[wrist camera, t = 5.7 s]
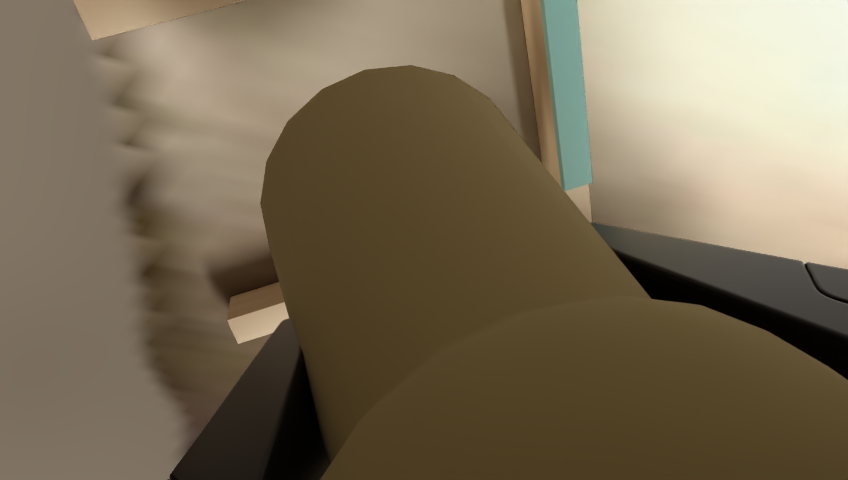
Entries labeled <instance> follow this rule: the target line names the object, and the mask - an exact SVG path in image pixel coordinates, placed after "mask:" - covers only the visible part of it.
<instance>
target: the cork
mask: <svg viewBox="0 0 848 480" xmlns="http://www.w3.org/2000/svg"><path fill="white" fill-rule="evenodd" d="M260 204H261V209H262V214H263V219H264V223H265V228H266V233H267V238H268V243H269V247H270V250H271V254H272V258H273V261H274V265H275V269H276V272H277V276H278V280H279V283H280V287H281V291H282V294H283V298H284V302H285V305H286V309H287V313H288V316H289V318H291V319H292V322H293V325H294V328H295V332H296V335H297V338H298V341H299V344H300V346H301V348H302V351H303V354H304V360H305V366H306V371H307V375H308V380H309V384H310V389H311V393H312V398H313V403H314V407H315V412H316V416H317V421H318V425H319V430H320V433H321V437H322V441H323V444H324V448H325V452H326V455H327V459H328V463H329V467H328V469H327V470H326V472H325V473H324V475H323V476H322V478H321V479H320V480H848V380H847V379H846V378H844V377H843V376H841V375H840V374H838V373H837V372H836V371H834V370H833V369H831V368H830V367H828V366H826V365H825V364H823V363H821V362H820V361H818V360H816V359H814V358H813V357H811V356H809V355H808V354H806V353H804V352H802V351H801V350H799V349H797V348H796V347H794V346H792V345H791V344H789V343H787V342H785V341H784V340H782V339H780V338H779V337H777V336H775V335H773V334H772V333H770V332H768V331H766V330H763V329H761V328H758V327H756V326H753V325H751V324H748V323H746V322H743V321H740V320H738V319H735V318H733V317H730V316H728V315H725V314H723V313H720V312H717V311H715V310H712V309H710V308H707V307H705V306H702V305H696V304H688V303H680V302H672V301H664V300H656V299H651V298H650V296H649V295H648V294H647V293H646V291H645V290H644V289H643V288H642V286H641V285H640V284H639V283H638V282H637V280H636V279H635V278H634V277H633V275H632V274H631V273H630V272H629V270H628V269H627V268H626V267H625V265H624V264H623V263H622V262H621V261H620V259H619V258H618V257H617V256H616V254H615V253H614V252H613V251H612V249H611V248H610V247H609V246H608V244H607V243H606V242H605V241H604V239H603V238H602V237H601V236H600V235H599V233H598V232H597V231H596V230H595V228H594V227H593V226H592V225H591V223H590V222H589V221H588V220H587V218H586V217H585V216H584V215H583V213H582V212H581V211H580V210H579V209H578V207H577V206H576V205H575V204H574V202H573V201H572V200H571V199H570V197H569V196H568V195H567V194H566V192H565V191H564V190H563V189H562V188H561V186H560V185H559V184H558V183H557V181H556V180H555V179H554V178H553V176H552V175H551V174H550V173H549V171H548V170H547V169H546V168H545V166H544V165H543V164H542V163H541V162H540V160H539V159H538V158H537V157H536V155H535V154H534V153H533V152H532V150H531V149H530V148H529V147H528V145H527V144H526V143H525V142H524V141H523V139H522V138H521V137H520V136H519V134H518V133H517V132H516V131H515V129H514V128H513V127H512V126H511V124H510V123H509V122H508V121H507V119H506V118H505V117H504V116H503V115H502V113H501V112H500V111H499V110H498V108H497V107H496V106H495V105H494V103H493V102H492V101H491V100H490V98H488V97H487V96H485V95H484V94H482V93H480V92H479V91H477V90H476V89H474V88H473V87H471V86H470V85H468V84H467V83H465V82H463V81H462V80H460V79H459V78H457V77H456V76H454V75H450V74H446V73H442V72H437V71H433V70H429V69H425V68H421V67H416V66H412V65H408V66H398V67H388V68H378V69H368V70H363V71H361V72H359V73H357V74H355V75H352V76H350V77H348V78H346V79H344V80H341V81H339V82H337V83H335V84H333V85H330V86H328V87H326V88H324V89H322V90H321V91H320V92H319V93H317V94H316V95H315V96H314V97H313V98H312V99H311V100H310V101H309V102H308V103H307V104H306V105H305V106H304V107H302V108H301V109H300V110H299V111H298V112H297V113H296V114H295V115H294V116H293V117H292V118H291V119H290V120H289V121H288V122H287V124H286V126H285V127H284V129H283V131H282V133H281V135H280V137H279V139H278V141H277V142H276V144H275V146H274V148H273V150H272V152H271V154H270V156H269V158H268V159H267V162H266V169H265V176H264V182H263V189H262V196H261V203H260Z"/></svg>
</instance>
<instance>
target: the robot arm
mask: <svg viewBox="0 0 848 480" xmlns="http://www.w3.org/2000/svg"><path fill="white" fill-rule="evenodd" d="M591 225H592V226H593V227H594V228H595V230H596V231H597V232H598V233H599V235H600V236H601V237H602V238H603V239H604V241H605V242H606V243H607V244H608V246H609V247H610V248H611V249H612V251H613V252H614V253H615V254H616V256H617V257H618V258H619V259H620V261H621V262H622V263H623V264H624V265H625V267H626V268H627V269H628V270H629V272H630V273H631V274H632V275H633V277H634V278H635V279H636V280H637V282H638V283H639V284H640V285H641V286H642V288H643V289H644V290H645V291H646V293H647V294H648V295H649V296H650V298H651V299H656V300H664V301H672V302H680V303H688V304H696V305H702V306H705V307H707V308H710V309H712V310H715V311H717V312H720V313H723V314H725V315H728V316H730V317H733V318H735V319H738V320H740V321H743V322H746V323H748V324H751V325H753V326H756V327H758V328H761V329H763V330H766V331H768V332H770V333H772V334H773V335H775V336H777V337H779V338H780V339H782V340H784V341H785V342H787V343H789V344H791V345H792V346H794V347H796V348H797V349H799V350H801V351H802V352H804V353H806V354H808V355H809V356H811V357H813V358H814V359H816V360H818V361H820V362H821V363H823V364H825V365H826V366H828V367H830V368H831V369H833V370H834V371H836V372H837V373H838V374H840V375H841V376H843V377H844V378H846V379H847V380H848V269H842V268H837V267H831V266H826V265H821V264H815V263H810V262H807V263H805V265H804V263H803V262H802V261H799V260H793V259H788V258H782V257H777V256H772V255H766V254H761V253H756V252H750V251H745V250H739V249H734V248H729V247H723V246H718V245H713V244H707V243H702V242H697V241H691V240H686V239H681V238H675V237H670V236H665V235H659V234H654V233H648V232H643V231H638V230H632V229H627V228H622V227H616V226H611V225H606V224H600V223H595V222H591ZM328 467H329V463H328V459H327V455H326V452H325V448H324V444H323V441H322V437H321V433H320V430H319V425H318V421H317V416H316V412H315V407H314V403H313V398H312V393H311V389H310V384H309V380H308V375H307V371H306V366H305V360H304V354H303V351H302V348H301V346H300V344H299V341H298V338H297V335H296V332H295V328H294V325H293V322H292V319H291V318H288V319H285V320H283V321H282V322H281V323H280V324H279V325H278V327H277V328H276V329H275V331H274V332H273V334H272V335H271V336H270V338H269V339H268V340H267V342H266V343H265V345H264V346H263V347H262V349H261V350H260V351H259V353H258V354H257V356H256V357H255V358H254V360H253V361H252V362H251V364H250V365H249V367H248V368H247V369H246V371H245V372H244V373H243V375H242V376H241V378H240V379H239V380H238V382H237V383H236V385H235V386H234V387H233V389H232V390H231V391H230V393H229V394H228V396H227V397H226V398H225V400H224V401H223V402H222V404H221V405H220V407H219V408H218V409H217V411H216V412H215V413H214V415H213V416H212V418H211V419H210V420H209V422H208V423H207V424H206V426H205V427H204V429H203V430H202V431H201V433H200V434H199V436H198V437H197V438H196V440H195V441H194V442H193V444H192V445H191V447H190V448H189V449H188V451H187V452H186V453H185V455H184V456H183V458H182V459H181V460H180V462H179V463H178V464H177V466H176V467H175V469H174V470H173V471H172V473H171V474H170V479H168V480H320V479H321V478H322V476H323V475H324V473H325V472H326V470H327V469H328Z"/></svg>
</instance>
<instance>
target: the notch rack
mask: <svg viewBox="0 0 848 480" xmlns="http://www.w3.org/2000/svg"><path fill="white" fill-rule="evenodd" d="M73 1H74V3H75V5H76V7H77V9H78V11H79V14H80V16H81V18H82V20H83V22H84V24H85V26H86V28H87V30H88V32H89V34H90V36H91V39H92V40H95V39H99V38H103V37H107V36H111V35H115V34H119V33H122V32H126V31H130V30H134V29H138V28H142V27H146V26H150V25H153V24H157V23H161V22H165V21H169V20H173V19H177V18H181V17H184V16H188V15H192V14H196V13H200V12H204V11H208V10H212V9H216V8H219V7H223V6H227V5H231V4H235V3H239V2H243V1H247V0H73ZM521 7H522V14H523V22H524V30H525V37H526V45H527V53H528V60H529V68H530V76H531V83H532V91H533V99H534V106H535V114H536V122H537V129H538V137H539V145H540V152H541V160H542V164H543V165H544V166H545V168H546V169H547V170H548V171H549V173H550V174H551V175H552V176H553V178H554V179H555V180H556V181H557V183H558V184H559V185H560V186H561V188H562V189H563V190H564V191H565V192H566V194H567V195H568V196H569V197H570V199H571V200H572V201H573V202H574V204H575V205H576V206H577V207H578V209H579V210H580V211H581V212H582V213H583V215H584V216H585V217H586V218H587V220H588V221H589V222H590V223H591V222H592V215H591V204H590V193H589V184H590V183H593V182H592V170H591V159H590V147H589V136H588V124H587V113H586V101H585V90H584V78H583V66H582V55H581V43H580V32H579V20H578V9H577V0H521ZM288 318H289V316H288V313H287V309H286V305H285V302H284V298H283V294H282V291H281V287H280V283H279V282H277V283H274V284H271V285H268V286H264V287H261V288H258V289H255V290H252V291H248V292H245V293H242V294H239V295H236V296H232V297H230V304H229V311H228V317H227V321H228V323H229V325H230V327H231V330H232V332H233V334H234V336H235V338H236V340H237V342H238V344H239V343H242V342H245V341H248V340H252V339H255V338H258V337H261V336H264V335H267V334H270V333H273V332H274V331H275V329H276V328H277V327H278V325H279V324H280V323H281V322H282V321H283V320H285V319H288Z"/></svg>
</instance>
